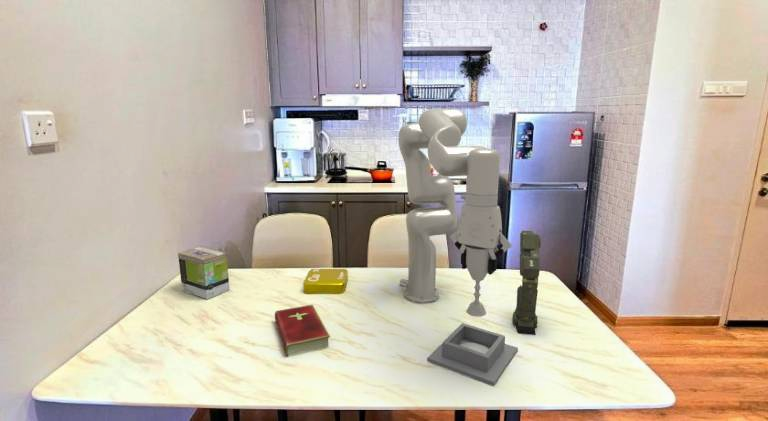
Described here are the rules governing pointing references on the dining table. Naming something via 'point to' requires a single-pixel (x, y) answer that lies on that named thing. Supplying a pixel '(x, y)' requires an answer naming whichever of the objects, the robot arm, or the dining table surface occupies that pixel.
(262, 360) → the dining table surface
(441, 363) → the housing
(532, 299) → the mechanical leg
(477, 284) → the chalice
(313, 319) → the hardcover book
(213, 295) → the tea box
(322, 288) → the element tile
